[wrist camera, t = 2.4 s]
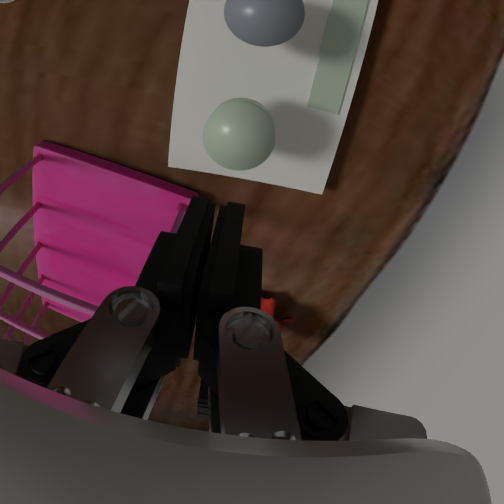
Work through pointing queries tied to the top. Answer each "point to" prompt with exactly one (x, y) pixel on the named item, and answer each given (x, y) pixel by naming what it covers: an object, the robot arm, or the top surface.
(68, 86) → the top surface
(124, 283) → the file sorter
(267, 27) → the grey rounded piece
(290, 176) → the button panel
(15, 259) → the top surface
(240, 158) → the pale green rounded piece
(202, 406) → the ink cartridge
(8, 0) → the white cylinder
